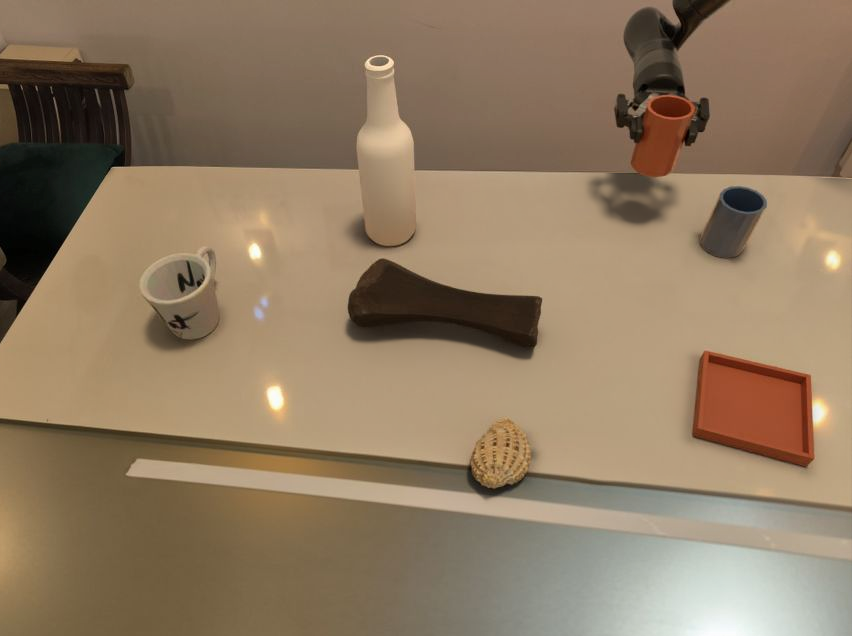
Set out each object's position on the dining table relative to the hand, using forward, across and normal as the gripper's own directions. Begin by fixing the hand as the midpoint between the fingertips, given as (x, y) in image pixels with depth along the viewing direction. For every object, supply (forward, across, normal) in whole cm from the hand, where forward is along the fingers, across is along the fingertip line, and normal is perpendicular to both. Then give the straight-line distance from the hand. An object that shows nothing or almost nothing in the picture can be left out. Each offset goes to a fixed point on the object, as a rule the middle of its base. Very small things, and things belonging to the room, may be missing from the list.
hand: (664, 139), depth 91 cm
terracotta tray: (+36, +13, +16) cm, 42 cm away
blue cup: (+4, +13, +16) cm, 21 cm away
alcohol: (+8, -41, +16) cm, 45 cm away
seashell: (+49, -19, +16) cm, 55 cm away
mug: (+32, -67, +16) cm, 76 cm away
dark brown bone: (+27, -29, +16) cm, 43 cm away
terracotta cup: (-2, 0, +6) cm, 6 cm away
